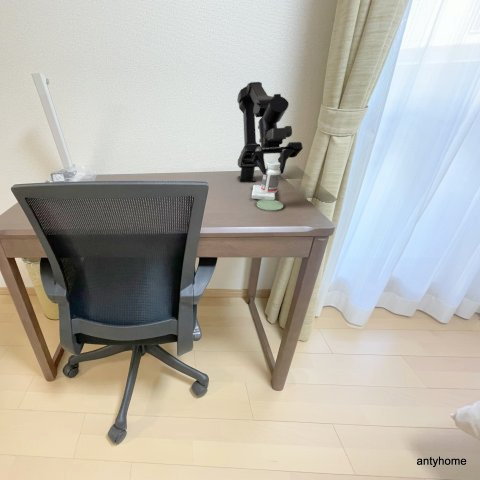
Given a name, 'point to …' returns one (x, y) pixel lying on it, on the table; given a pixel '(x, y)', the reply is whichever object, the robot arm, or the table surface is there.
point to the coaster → (270, 205)
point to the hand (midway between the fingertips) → (273, 173)
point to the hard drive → (261, 194)
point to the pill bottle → (271, 178)
